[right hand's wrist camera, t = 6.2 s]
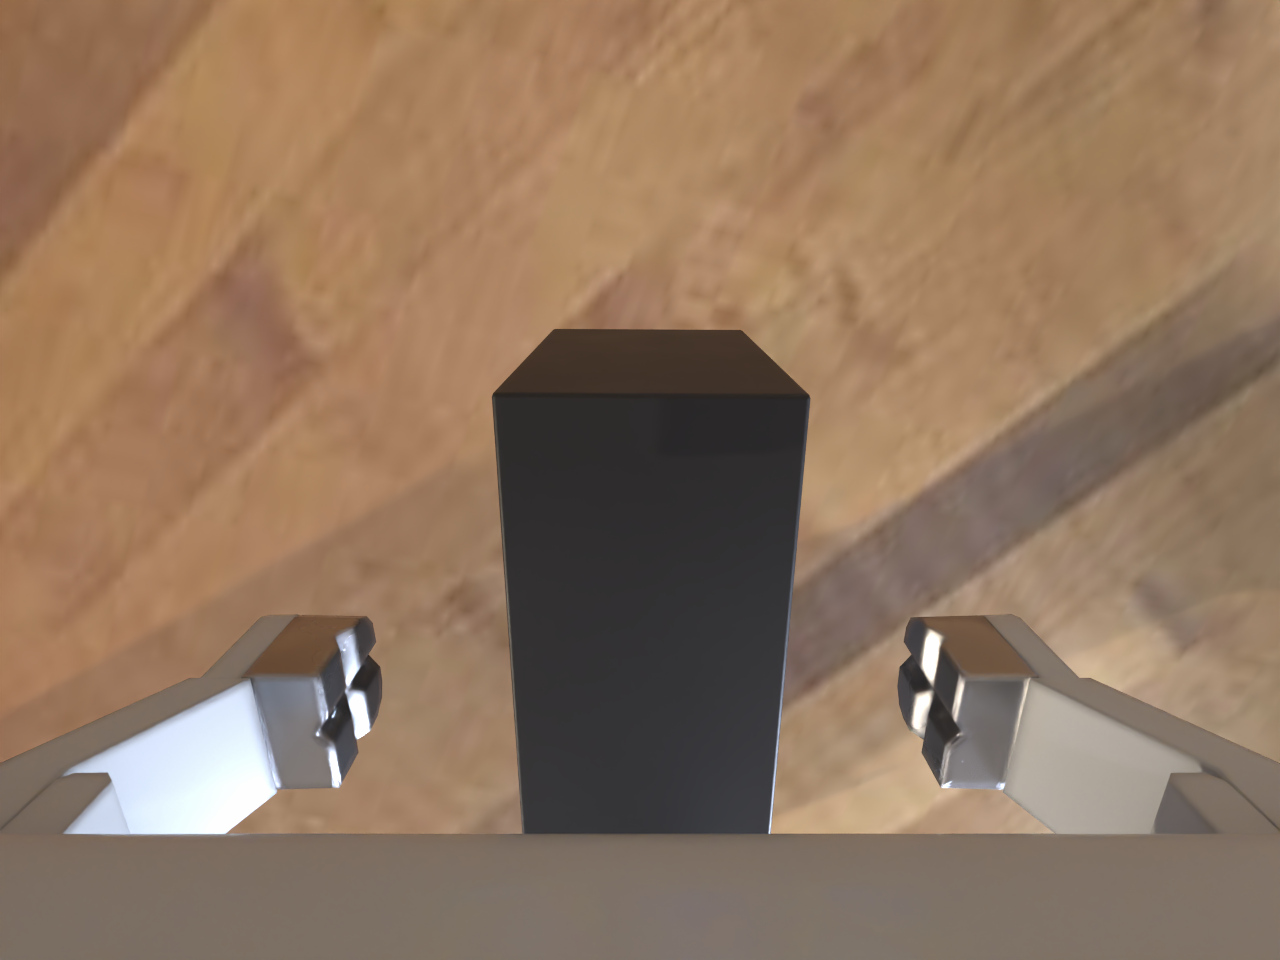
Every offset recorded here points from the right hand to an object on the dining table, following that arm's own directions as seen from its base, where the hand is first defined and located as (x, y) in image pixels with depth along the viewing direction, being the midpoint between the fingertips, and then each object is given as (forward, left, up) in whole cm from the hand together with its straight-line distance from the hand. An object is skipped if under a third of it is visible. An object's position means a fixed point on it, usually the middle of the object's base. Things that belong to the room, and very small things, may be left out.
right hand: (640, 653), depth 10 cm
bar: (-10, +3, -10) cm, 14 cm away
